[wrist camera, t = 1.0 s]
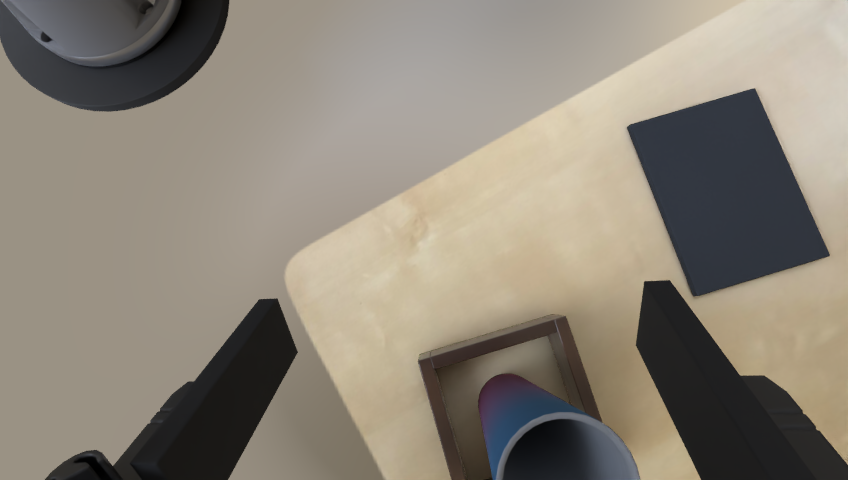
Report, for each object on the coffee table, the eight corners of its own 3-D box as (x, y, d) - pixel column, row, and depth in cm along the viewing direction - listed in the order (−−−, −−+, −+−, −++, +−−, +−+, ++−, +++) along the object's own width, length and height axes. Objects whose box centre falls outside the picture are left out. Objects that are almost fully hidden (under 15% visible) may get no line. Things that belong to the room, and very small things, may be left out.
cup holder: (419, 354, 34) (417, 360, 31) (552, 313, 35) (566, 315, 31) (460, 500, 33) (464, 524, 29) (601, 456, 33) (621, 475, 29)
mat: (626, 127, 37) (630, 124, 36) (749, 91, 37) (754, 87, 37) (693, 296, 35) (697, 296, 34) (823, 256, 35) (830, 255, 34)
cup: (453, 421, 33) (470, 520, 19) (490, 347, 34) (534, 385, 19) (527, 463, 33) (605, 599, 18) (562, 387, 34) (665, 457, 19)
